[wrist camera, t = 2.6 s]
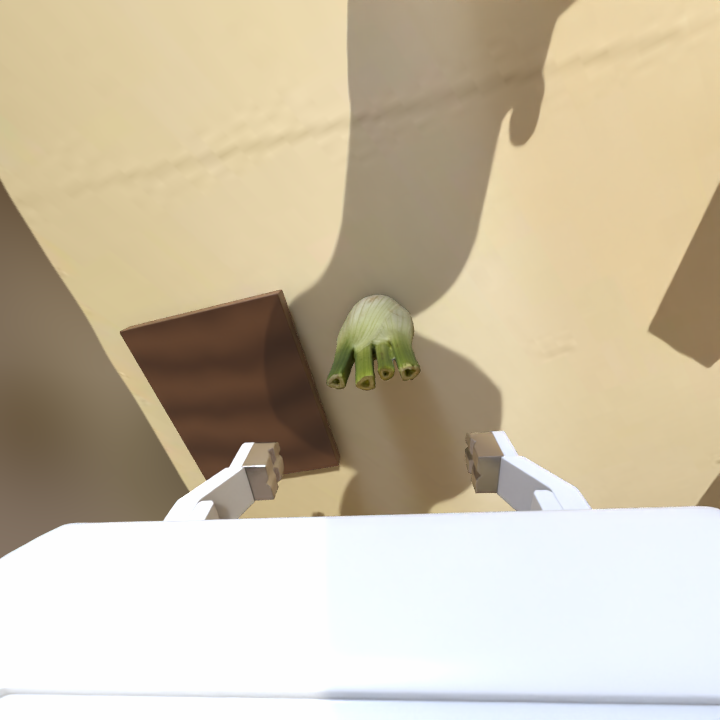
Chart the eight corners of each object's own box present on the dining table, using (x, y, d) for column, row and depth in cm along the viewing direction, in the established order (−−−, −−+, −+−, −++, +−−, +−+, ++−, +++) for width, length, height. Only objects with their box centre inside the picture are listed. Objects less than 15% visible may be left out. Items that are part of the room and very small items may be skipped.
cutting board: (129, 326, 32) (118, 331, 31) (281, 289, 30) (277, 293, 29) (215, 476, 41) (209, 486, 39) (340, 456, 38) (338, 465, 37)
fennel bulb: (339, 330, 32) (319, 397, 21) (353, 281, 29) (339, 326, 19) (397, 347, 32) (407, 421, 21) (415, 299, 30) (436, 354, 19)
